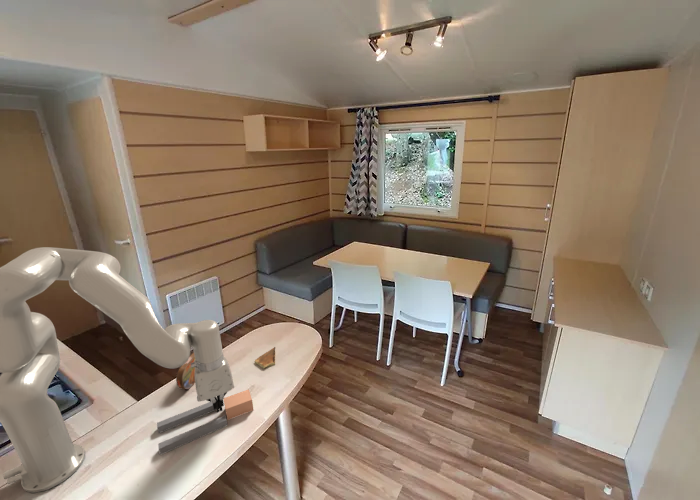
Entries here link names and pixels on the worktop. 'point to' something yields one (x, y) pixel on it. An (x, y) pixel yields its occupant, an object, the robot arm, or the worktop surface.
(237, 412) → the block
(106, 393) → the worktop surface
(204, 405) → the chute
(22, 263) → the robot arm
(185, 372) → the tin
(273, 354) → the shard
